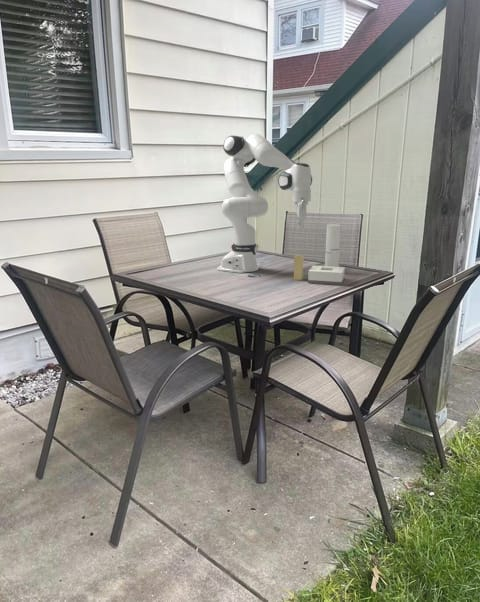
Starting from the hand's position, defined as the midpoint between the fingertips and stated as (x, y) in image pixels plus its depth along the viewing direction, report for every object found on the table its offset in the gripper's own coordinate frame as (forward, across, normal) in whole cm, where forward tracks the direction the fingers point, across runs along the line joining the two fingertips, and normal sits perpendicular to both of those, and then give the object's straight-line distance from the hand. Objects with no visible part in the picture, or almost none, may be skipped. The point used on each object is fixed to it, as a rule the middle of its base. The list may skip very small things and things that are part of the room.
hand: (301, 226), depth 235 cm
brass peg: (+26, -2, +1) cm, 26 cm away
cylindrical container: (+26, +14, -17) cm, 34 cm away
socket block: (+26, -5, -12) cm, 30 cm away
